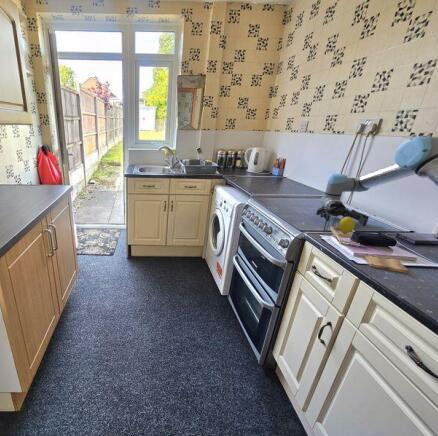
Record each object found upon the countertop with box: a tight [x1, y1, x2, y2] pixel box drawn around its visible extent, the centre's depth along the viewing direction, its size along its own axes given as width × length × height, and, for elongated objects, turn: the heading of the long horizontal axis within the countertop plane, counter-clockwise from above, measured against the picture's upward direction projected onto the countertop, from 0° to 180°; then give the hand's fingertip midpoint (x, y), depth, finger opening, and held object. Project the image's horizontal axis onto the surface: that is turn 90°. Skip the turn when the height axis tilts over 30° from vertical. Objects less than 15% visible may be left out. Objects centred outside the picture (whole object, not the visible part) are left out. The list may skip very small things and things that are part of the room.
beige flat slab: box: [329, 225, 360, 245], centre depth 107 cm, size 9×17×1 cm, turn 156°
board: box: [364, 256, 410, 274], centre depth 87 cm, size 10×8×1 cm
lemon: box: [338, 217, 356, 233], centre depth 109 cm, size 6×6×8 cm
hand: (346, 220), depth 110 cm, fingers open, 13 cm apart
